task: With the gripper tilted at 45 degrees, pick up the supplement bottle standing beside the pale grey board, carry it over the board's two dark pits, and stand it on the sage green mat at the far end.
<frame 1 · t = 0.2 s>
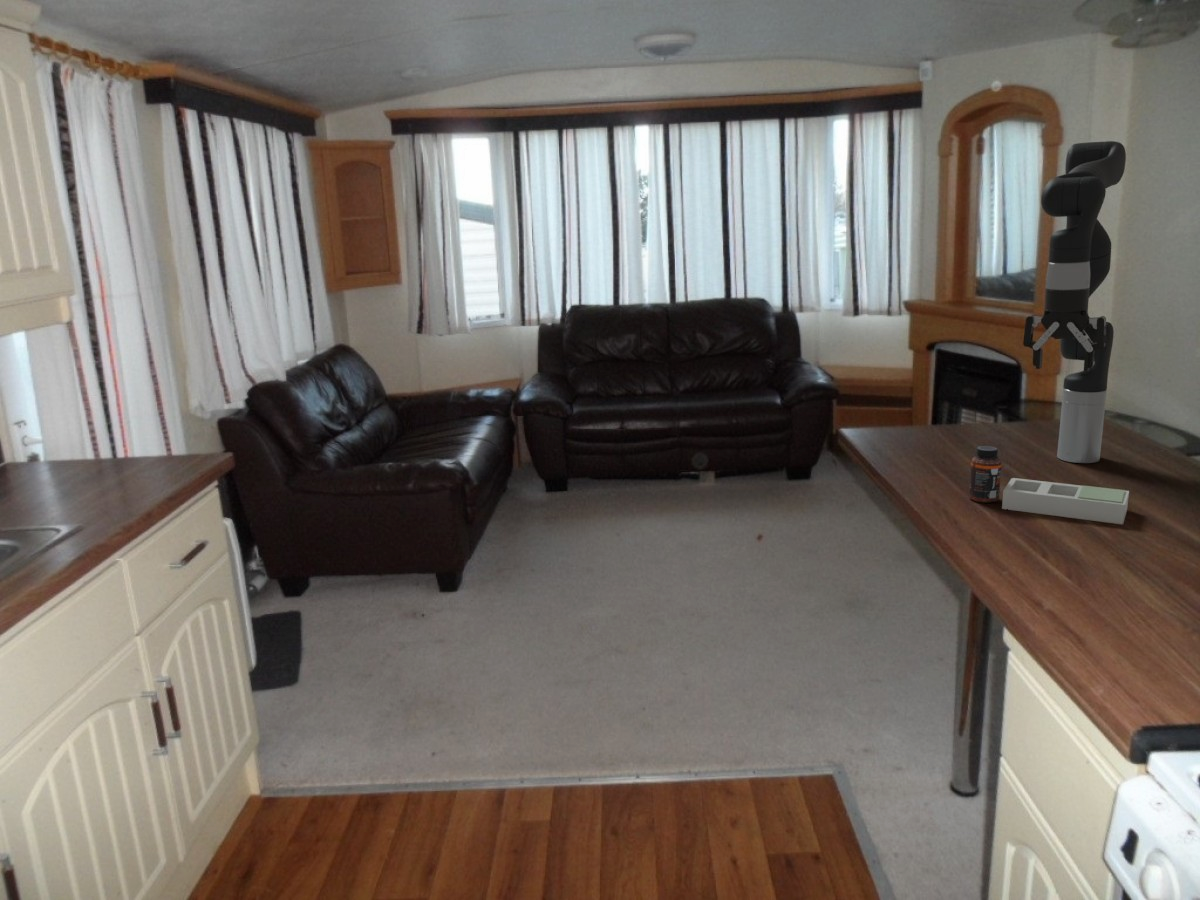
hand: (1062, 369, 184), 29 cm above the kitchen counter, tool pointing down, fingers open, 8 cm apart
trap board: (1064, 509, 193), on the kitchen counter
supplement bottle: (983, 500, 201), on the kitchen counter
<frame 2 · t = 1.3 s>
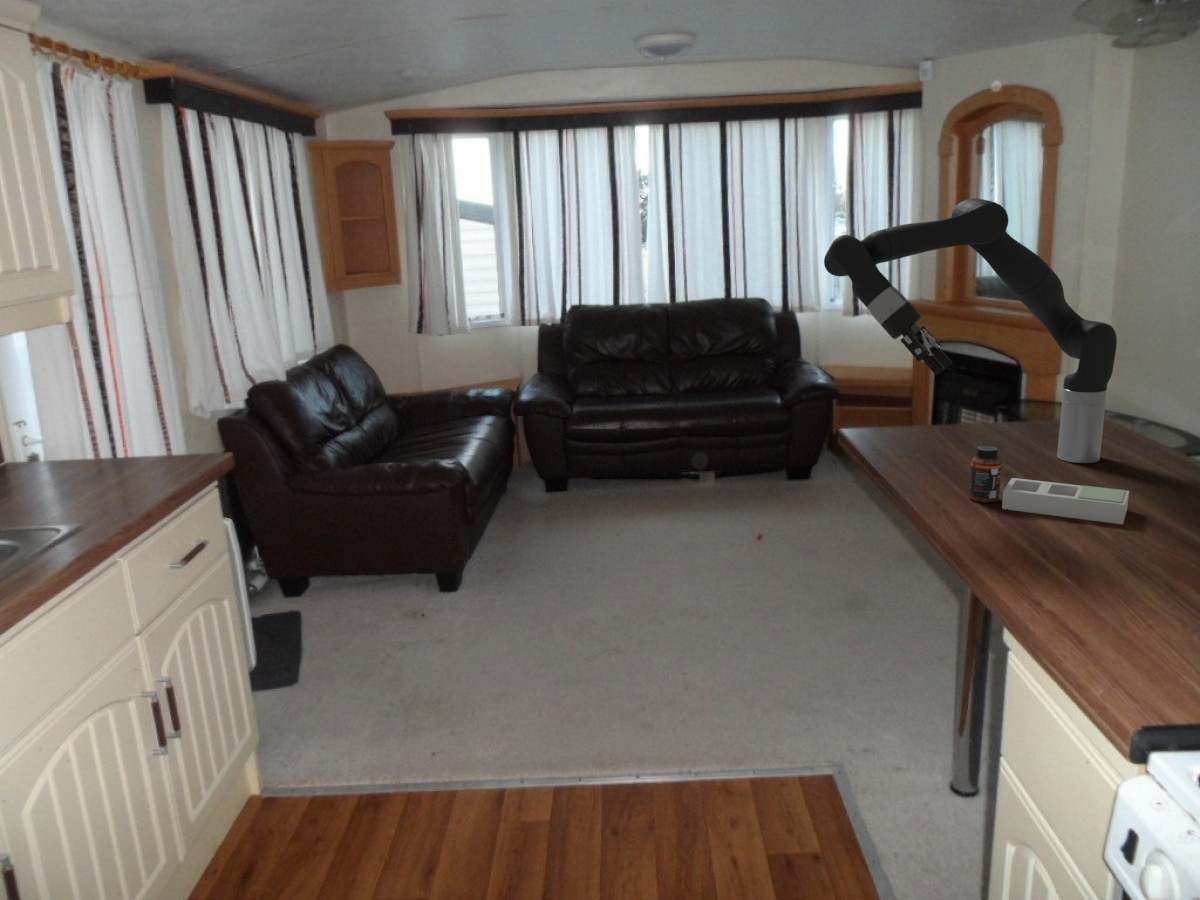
hand: (944, 369, 200), 27 cm above the kitchen counter, tool tilted 45°, fingers open, 8 cm apart
nothing on the kitchen counter moved.
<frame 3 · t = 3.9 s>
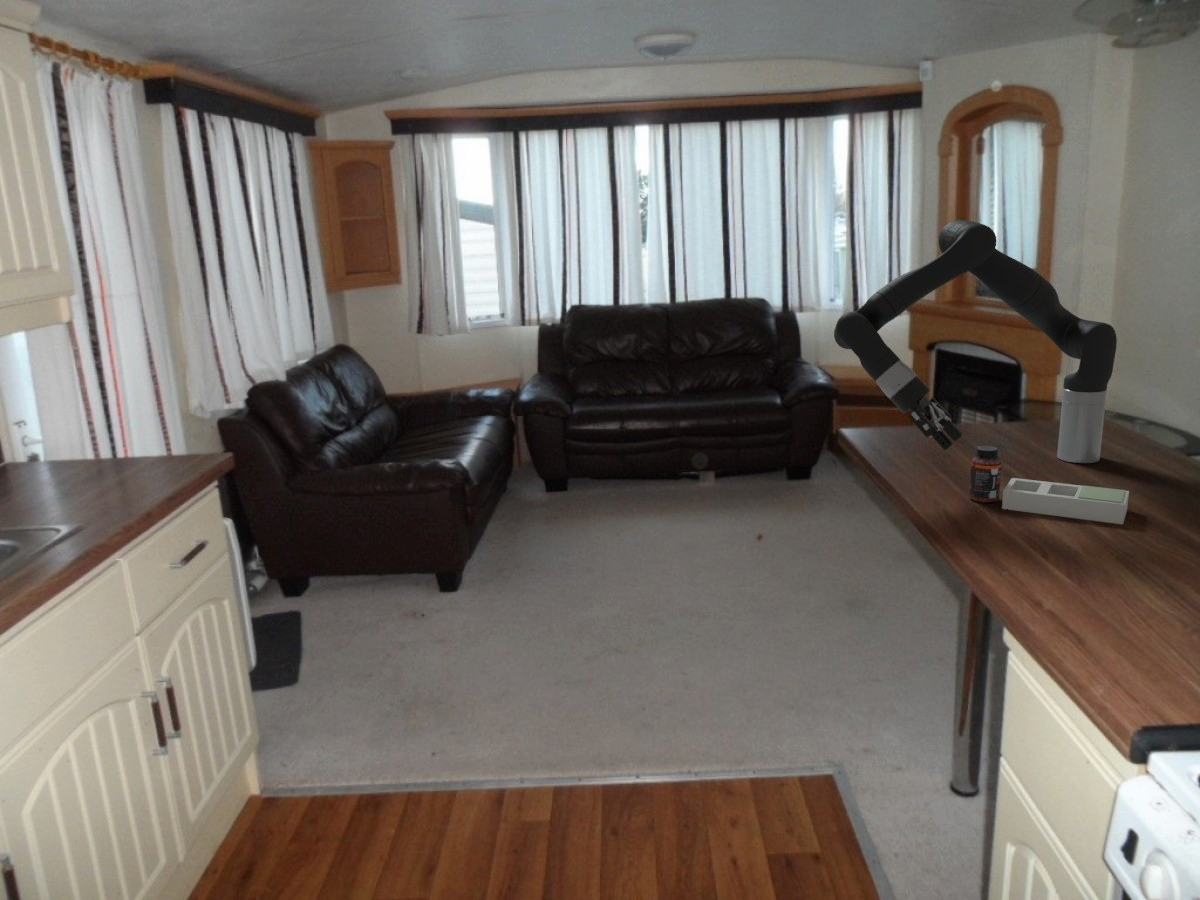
hand: (954, 442, 202), 12 cm above the kitchen counter, tool tilted 45°, fingers open, 8 cm apart
nothing on the kitchen counter moved.
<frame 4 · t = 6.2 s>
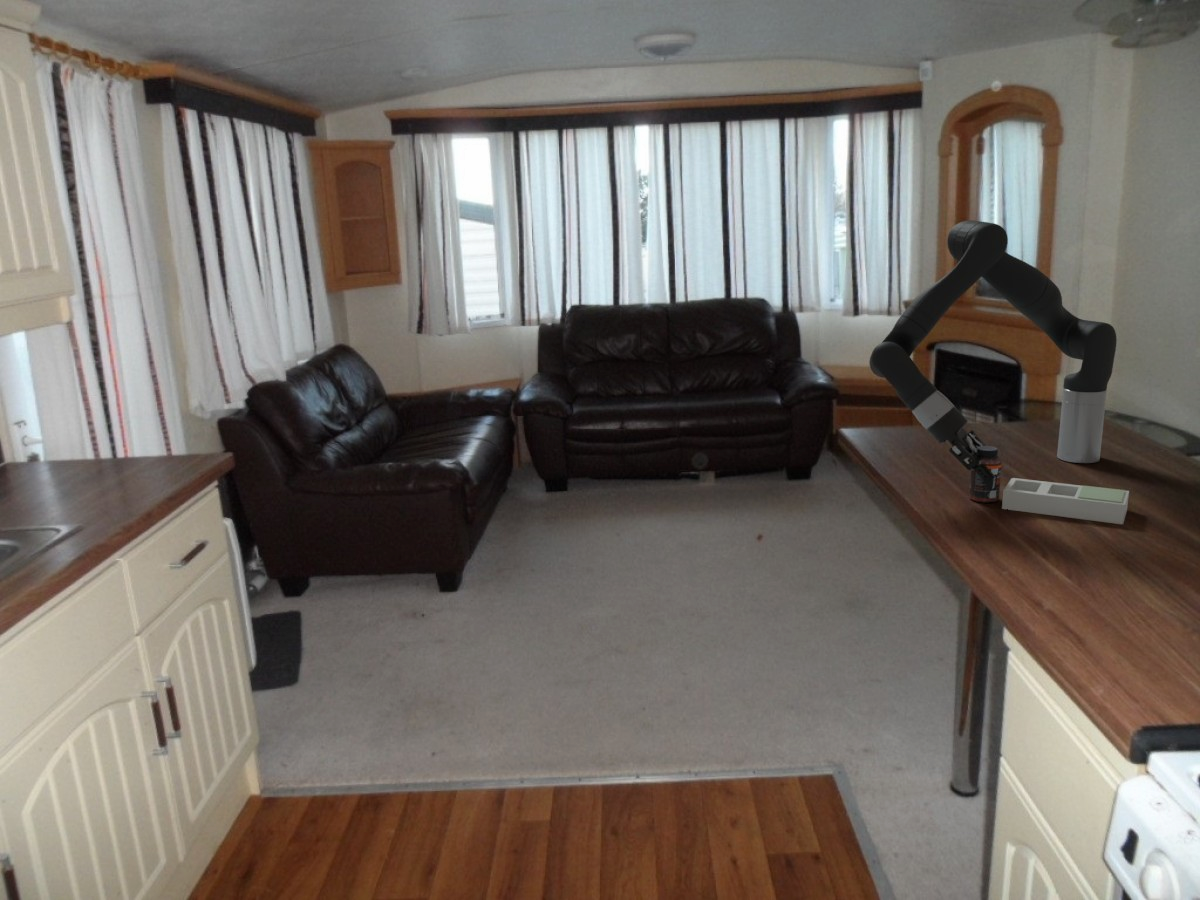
hand: (994, 476, 199), 5 cm above the kitchen counter, tool tilted 45°, fingers closed on supplement bottle, 6 cm apart
supplement bottle: (983, 500, 201), on the kitchen counter, touching gripper
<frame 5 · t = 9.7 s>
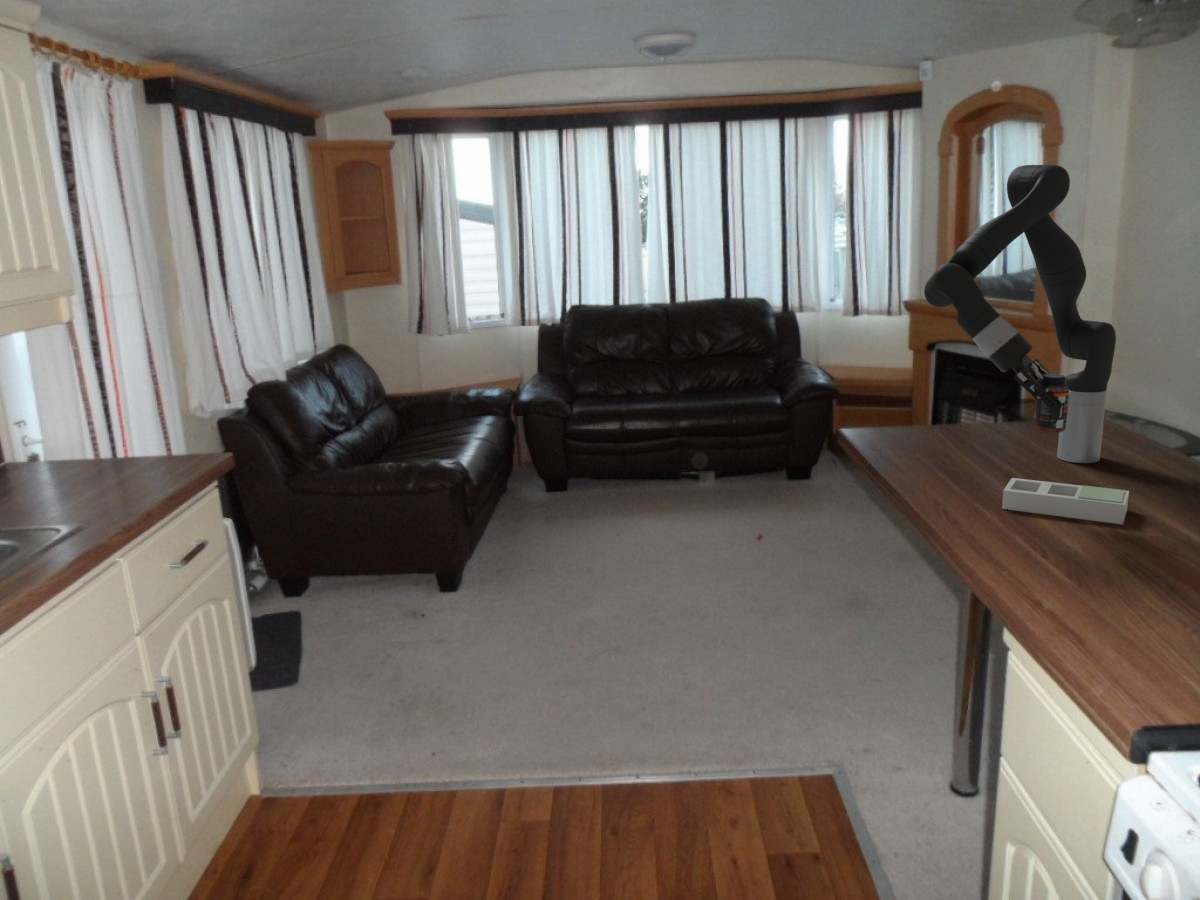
hand: (1061, 405, 189), 22 cm above the kitchen counter, tool tilted 45°, fingers closed on supplement bottle, 6 cm apart
supplement bottle: (1049, 430, 191), point 16 cm above the kitchen counter, touching gripper
when the fingers open (11 cm above the kitchen counter, at t = 13.0 s): supplement bottle drops 1 cm, resting on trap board.
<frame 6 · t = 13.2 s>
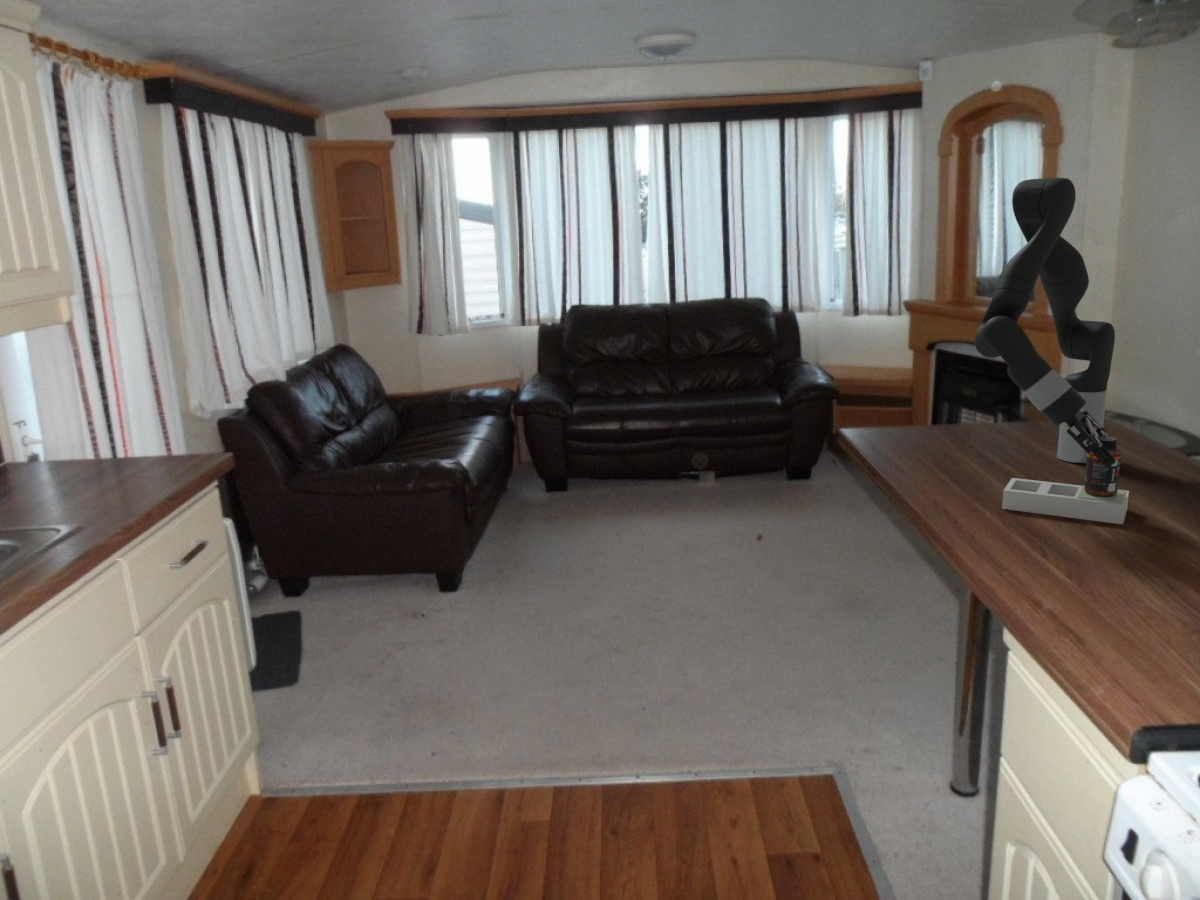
hand: (1113, 459, 186), 11 cm above the kitchen counter, tool tilted 45°, fingers open, 7 cm apart
supplement bottle: (1100, 493, 189), point 4 cm above the kitchen counter, touching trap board
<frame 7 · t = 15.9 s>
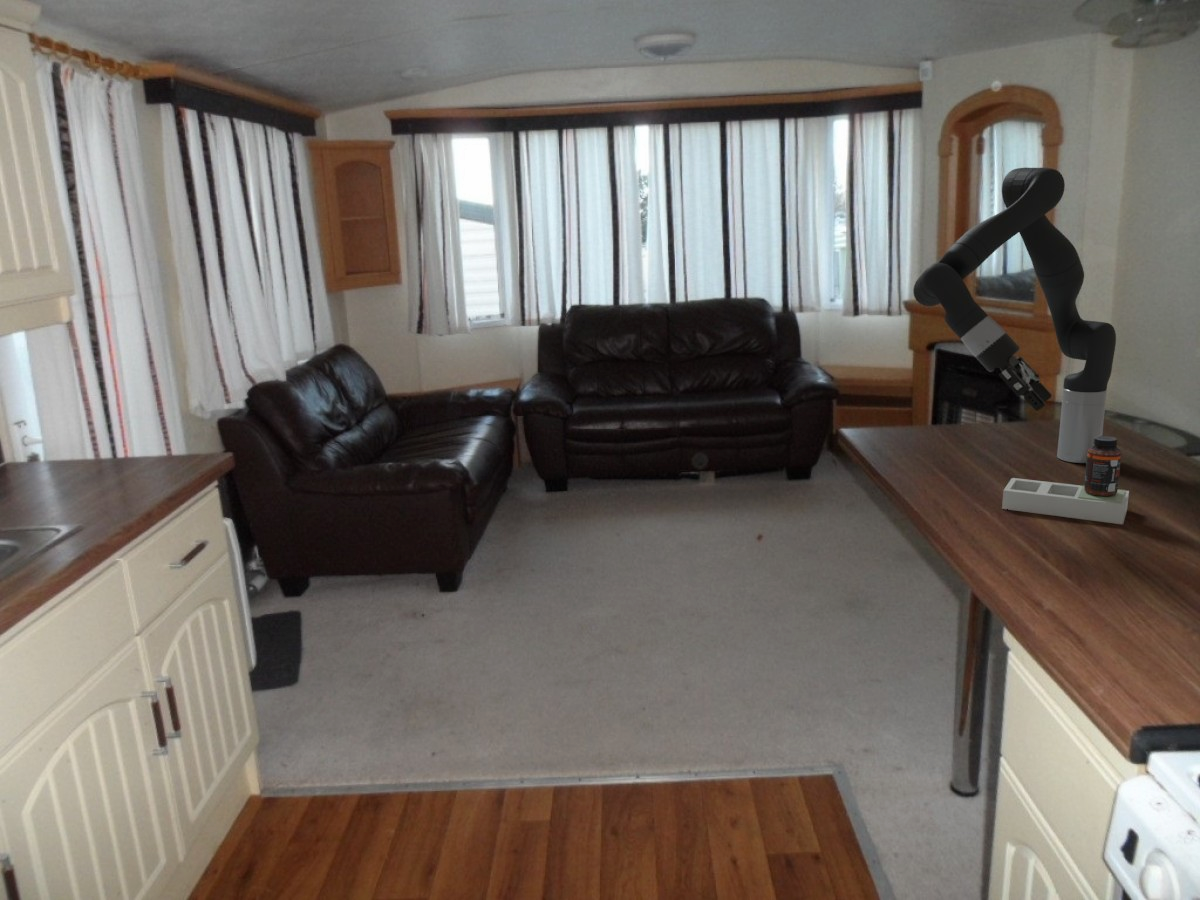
hand: (1044, 403, 190), 22 cm above the kitchen counter, tool tilted 45°, fingers open, 8 cm apart
nothing on the kitchen counter moved.
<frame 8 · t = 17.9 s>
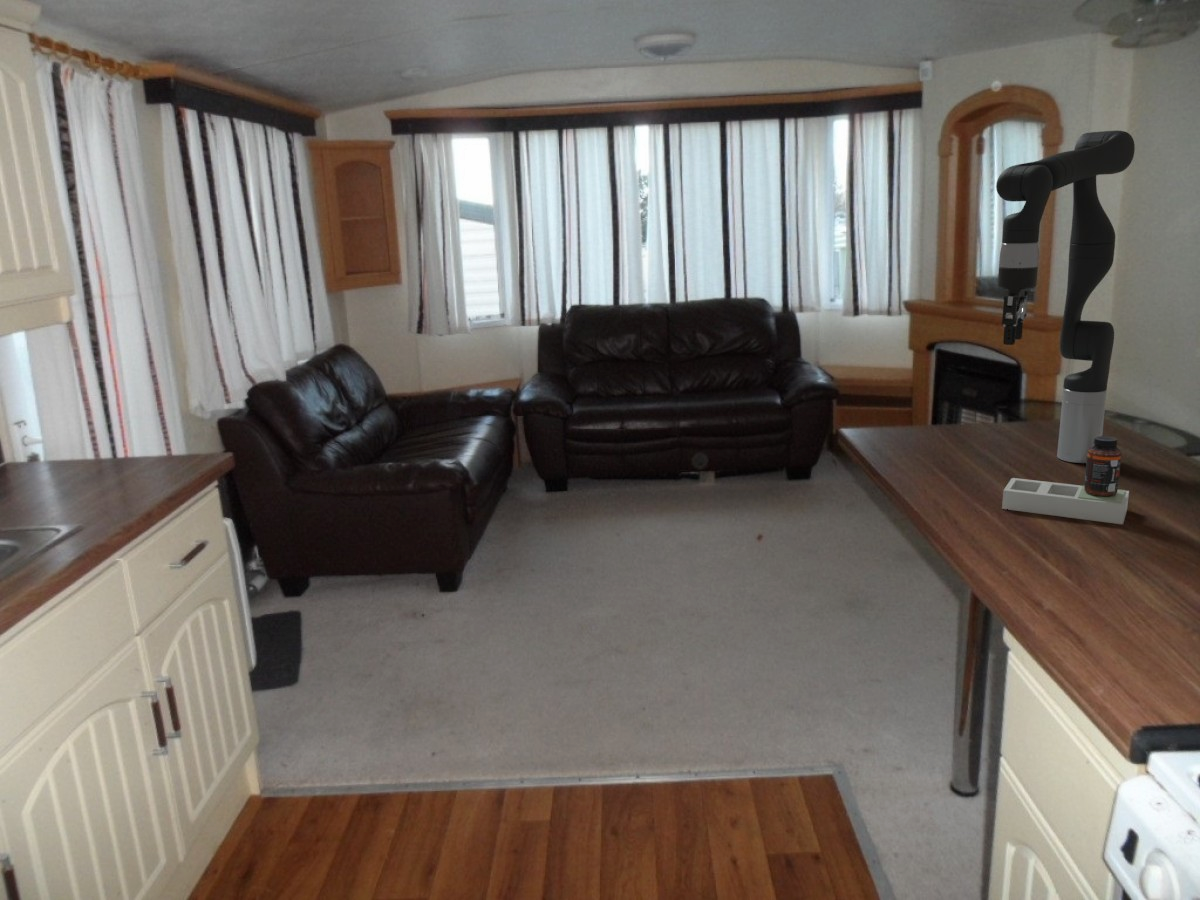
hand: (1012, 341, 202), 32 cm above the kitchen counter, tool pointing down, fingers open, 8 cm apart
nothing on the kitchen counter moved.
at the end: supplement bottle inside the target area on the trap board (1.2 cm from its centre), point 4.1 cm above the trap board's base; supplement bottle tilted 0°; the gripper is holding nothing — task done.
